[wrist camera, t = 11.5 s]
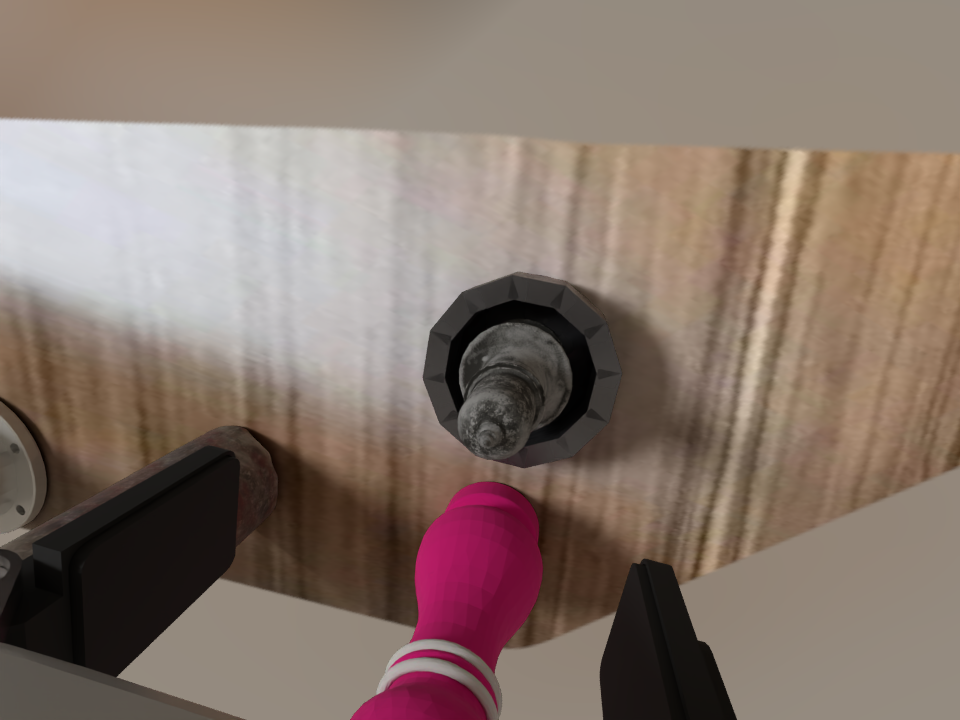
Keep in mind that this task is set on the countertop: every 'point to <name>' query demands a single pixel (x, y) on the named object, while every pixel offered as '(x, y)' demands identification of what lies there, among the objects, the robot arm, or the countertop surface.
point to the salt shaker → (511, 386)
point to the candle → (254, 463)
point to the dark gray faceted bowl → (578, 334)
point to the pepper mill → (464, 609)
